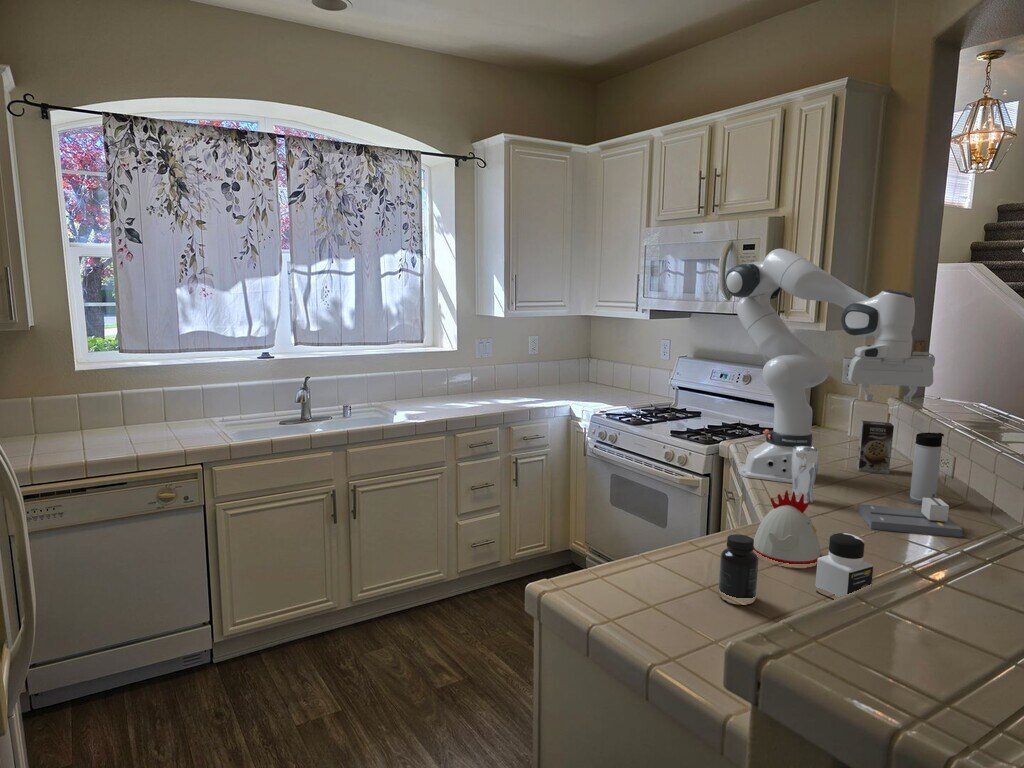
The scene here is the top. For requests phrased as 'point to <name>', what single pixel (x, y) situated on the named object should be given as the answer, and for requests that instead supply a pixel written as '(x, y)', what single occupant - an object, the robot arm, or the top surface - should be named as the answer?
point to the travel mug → (925, 466)
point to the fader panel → (906, 521)
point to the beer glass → (804, 471)
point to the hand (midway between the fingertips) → (887, 401)
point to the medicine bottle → (844, 566)
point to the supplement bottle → (739, 567)
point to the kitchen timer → (788, 533)
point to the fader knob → (935, 509)
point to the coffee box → (875, 447)
